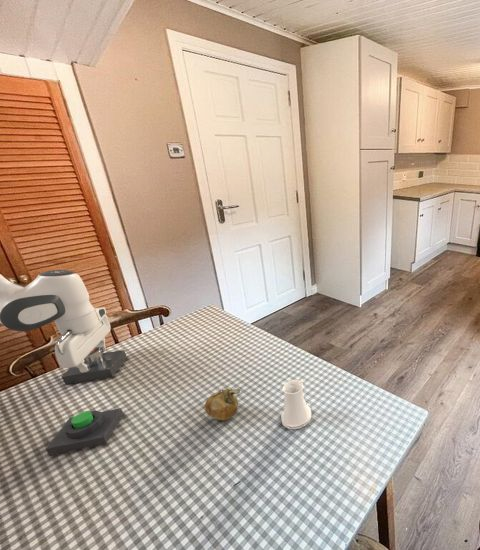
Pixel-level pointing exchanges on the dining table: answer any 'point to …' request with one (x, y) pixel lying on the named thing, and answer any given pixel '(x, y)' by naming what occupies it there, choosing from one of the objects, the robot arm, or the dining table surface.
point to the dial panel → (97, 369)
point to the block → (86, 433)
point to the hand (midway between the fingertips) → (94, 360)
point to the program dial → (94, 357)
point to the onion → (222, 404)
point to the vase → (295, 406)
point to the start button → (82, 419)
